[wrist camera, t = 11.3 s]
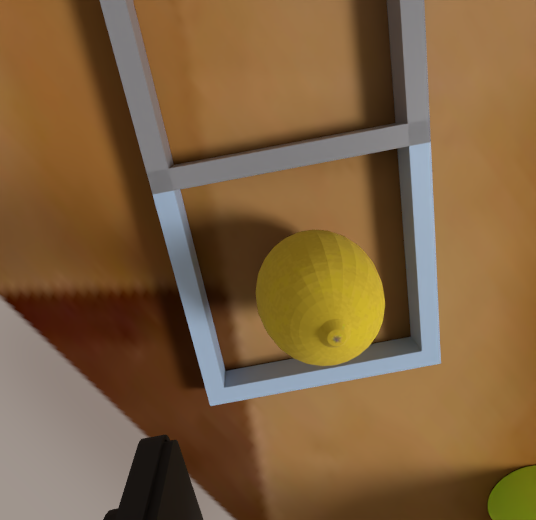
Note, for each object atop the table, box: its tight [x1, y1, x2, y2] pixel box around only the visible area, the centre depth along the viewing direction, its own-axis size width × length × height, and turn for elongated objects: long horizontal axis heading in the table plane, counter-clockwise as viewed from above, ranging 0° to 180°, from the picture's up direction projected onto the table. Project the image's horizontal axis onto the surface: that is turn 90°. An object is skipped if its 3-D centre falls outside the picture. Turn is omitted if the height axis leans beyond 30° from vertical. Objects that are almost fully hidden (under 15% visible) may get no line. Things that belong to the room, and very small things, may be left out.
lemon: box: [256, 230, 385, 366], centre depth 19 cm, size 6×6×8 cm
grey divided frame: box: [100, 0, 441, 406], centre depth 20 cm, size 25×13×2 cm, turn 10°
